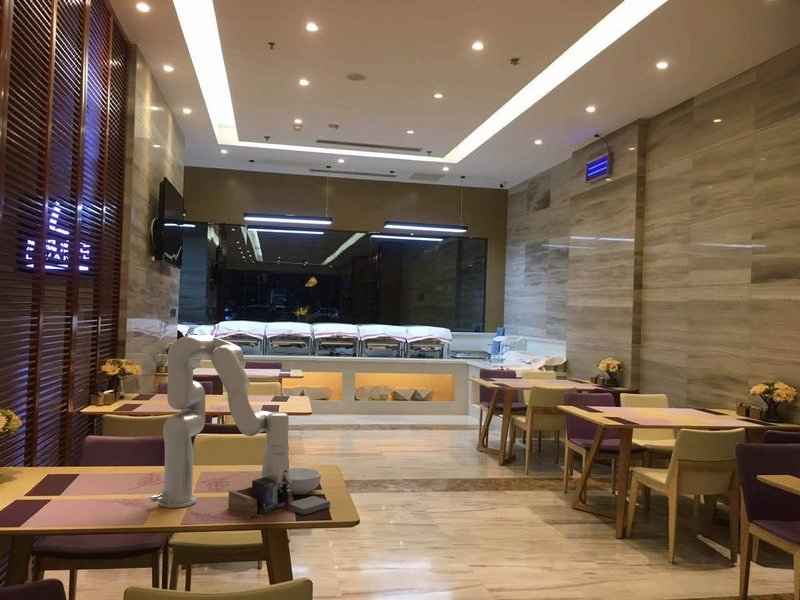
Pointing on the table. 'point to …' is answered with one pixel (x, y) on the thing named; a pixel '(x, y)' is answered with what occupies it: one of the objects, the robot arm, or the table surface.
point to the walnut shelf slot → (249, 502)
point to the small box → (266, 495)
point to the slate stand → (308, 505)
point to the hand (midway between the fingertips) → (275, 500)
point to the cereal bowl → (303, 480)
